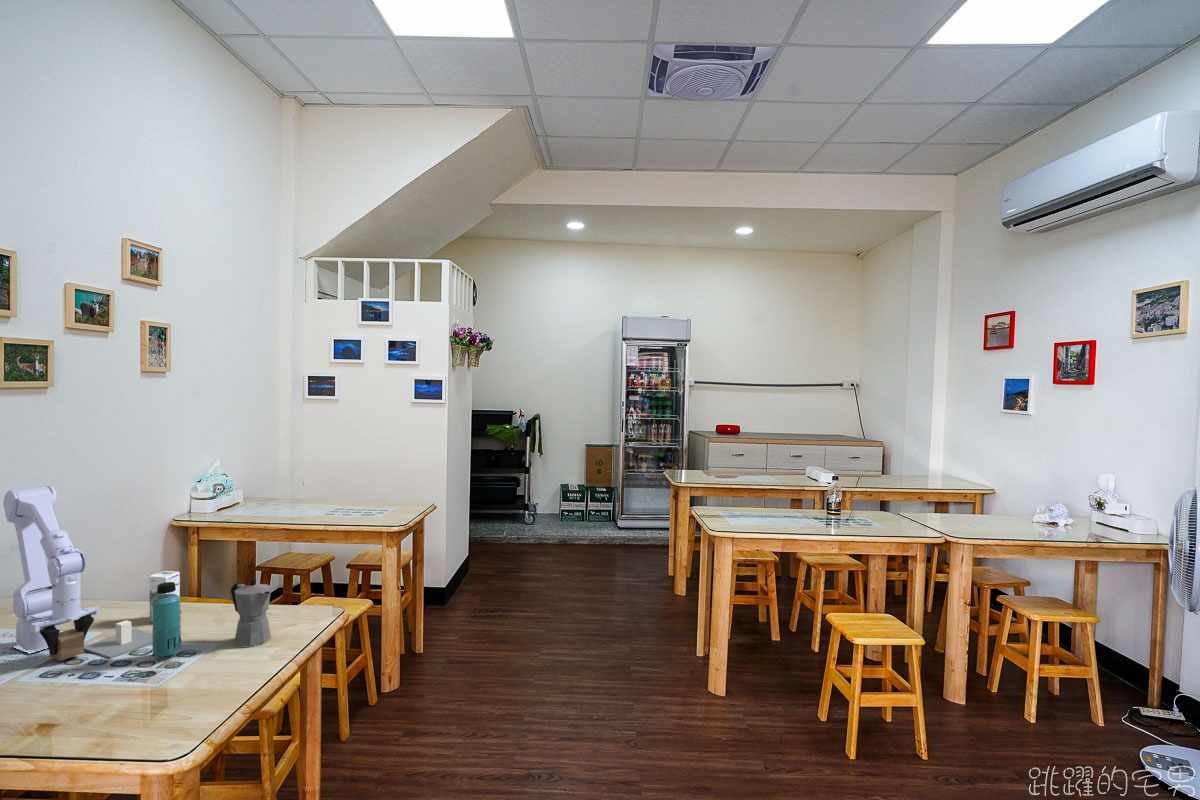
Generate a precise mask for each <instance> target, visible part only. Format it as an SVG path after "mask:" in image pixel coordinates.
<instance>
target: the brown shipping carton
mask: <svg viewBox="0 0 1200 800" xmlns="http://www.w3.org/2000/svg"><path fill="white" fill-rule="evenodd" d="M84 646H85V640H84V632H81V631H78V630H75V628H71V629H67V630H64V631H60V632H59V636H58V651H57V654H55V655H53V654H50V652H49V651H48V652H49V658H52V659H55V660H57V661H64V660H66V659H67V660H68V659H69V658H73V657H75V656H79V655H82V654H84V652H85V650H84Z"/></svg>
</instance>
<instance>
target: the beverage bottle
mask: <svg viewBox="0 0 1200 800" xmlns="http://www.w3.org/2000/svg"><path fill="white" fill-rule="evenodd" d="M175 590H176V587H175V583H174V582H165V583H161V584H159V585H158V587H157V593H159V594H164V595H160V596H158V597H157V598H156V599H155V600H154V601H153V602H152V604H153V622H152V634H153V641H152V642H153V644H151V646H152V655H153V656H154V657H168V656H171V655H172V656H173V655H174V654H177V653H178V652H180V650H181V648H182V631H181V630H182V627H181V619H182V616H181V613H182V610H181V597H179V596H178V595H176V594H165V593H171V592H174V591H175Z"/></svg>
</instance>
